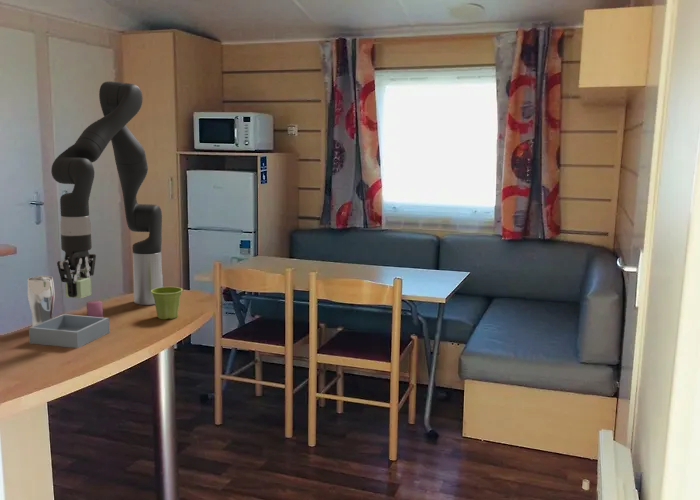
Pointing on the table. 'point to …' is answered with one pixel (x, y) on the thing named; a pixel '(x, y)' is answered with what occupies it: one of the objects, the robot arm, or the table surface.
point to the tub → (69, 330)
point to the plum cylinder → (94, 309)
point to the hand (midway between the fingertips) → (78, 294)
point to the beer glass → (41, 298)
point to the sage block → (81, 287)
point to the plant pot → (167, 301)
